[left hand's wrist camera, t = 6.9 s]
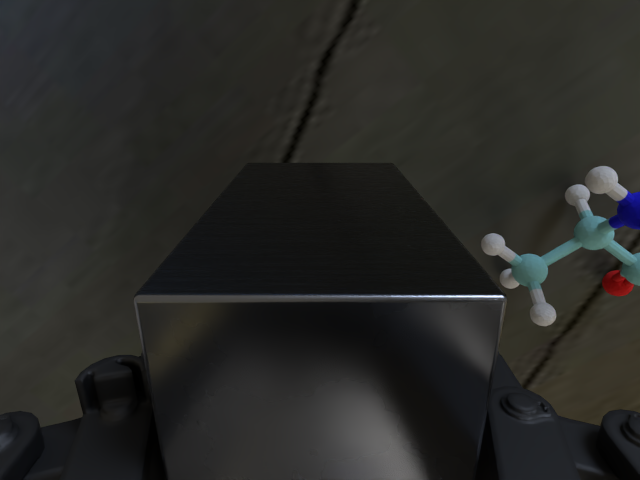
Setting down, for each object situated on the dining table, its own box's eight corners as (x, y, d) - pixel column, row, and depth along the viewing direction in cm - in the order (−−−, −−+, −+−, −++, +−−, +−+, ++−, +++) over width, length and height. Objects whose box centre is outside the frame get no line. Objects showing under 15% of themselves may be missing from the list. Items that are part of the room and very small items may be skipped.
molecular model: (499, 380, 25) (651, 409, 15) (443, 232, 27) (548, 174, 17) (649, 321, 27) (862, 313, 18) (589, 187, 29) (754, 114, 19)
